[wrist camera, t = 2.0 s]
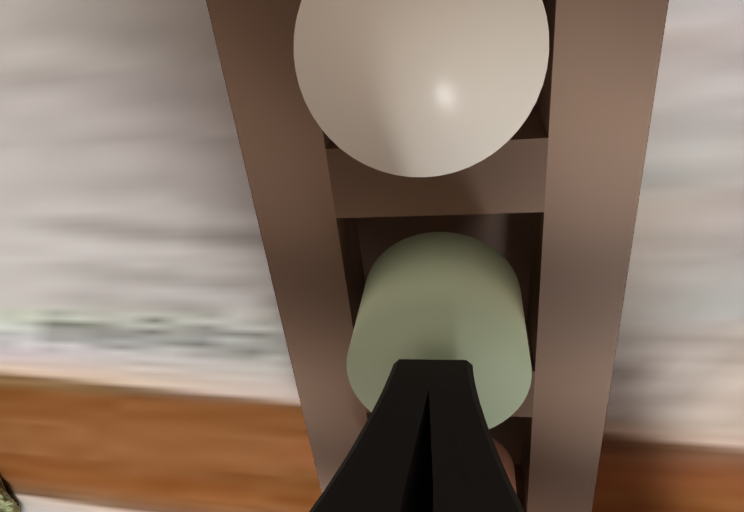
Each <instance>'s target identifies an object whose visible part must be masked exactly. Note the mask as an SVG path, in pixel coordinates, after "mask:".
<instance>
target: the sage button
mask: <svg viewBox="0 0 744 512" xmlns="http://www.w3.org/2000/svg"><path fill="white" fill-rule="evenodd" d="M399 359H429V360H467V361H468V362H470V363H471V364H472V365H473V374H474V380H475V385H476V389H477V393H478V397H479V401H480V404H481V407H482V410H483V414H484V417H485V420H486V423H487V426H488V428H489V429H491V428H493V427H495V426H497V425H498V424H500V423H502V422H504V421H505V420H506V419H508V418H509V417H510V416H511V415H512V414H513V413H514V412H516V411H517V410H518V408H519V407H520V406H521V404H522V403H523V402H524V400H525V398H526V396H527V394H528V391H529V388H530V385H531V379H532V367H531V360H530V353H529V346H528V339H527V332H526V325H525V318H524V311H523V304H522V296H521V290H520V285H519V281H518V279H517V276H516V273H515V272H514V270H513V268H512V267H511V265H510V264H509V263H508V261H507V260H506V259H505V258H504V257H503V256H502V255H501V254H500V253H499V252H498V251H496V250H495V249H494V248H492V247H491V246H490V245H488V244H486V243H484V242H482V241H480V240H478V239H475V238H473V237H470V236H467V235H463V234H458V233H452V232H428V233H423V234H418V235H414V236H411V237H408V238H405V239H403V240H401V241H399V242H397V243H395V244H394V245H392V246H391V247H389V248H388V249H387V250H386V251H384V252H383V253H382V254H381V255H380V256H379V257H378V259H377V260H376V261H375V263H374V264H373V266H372V267H371V269H370V271H369V274H368V276H367V280H366V283H365V287H364V291H363V295H362V299H361V303H360V307H359V311H358V315H357V319H356V323H355V326H354V330H353V334H352V338H351V342H350V346H349V350H348V354H347V362H346V366H347V375H348V379H349V382H350V385H351V387H352V389H353V391H354V393H355V394H356V396H357V398H358V399H359V400H360V401H361V402H362V404H363V405H364V406H365V407H366V408H367V409H368V410H369V411H370V412H372V411H373V409H374V407H375V405H376V403H377V401H378V399H379V397H380V395H381V393H382V390H383V388H384V386H385V384H386V382H387V379H388V377H389V375H390V372H391V369H392V367H393V364H394V363H395V362H396V361H398V360H399Z"/></svg>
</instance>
